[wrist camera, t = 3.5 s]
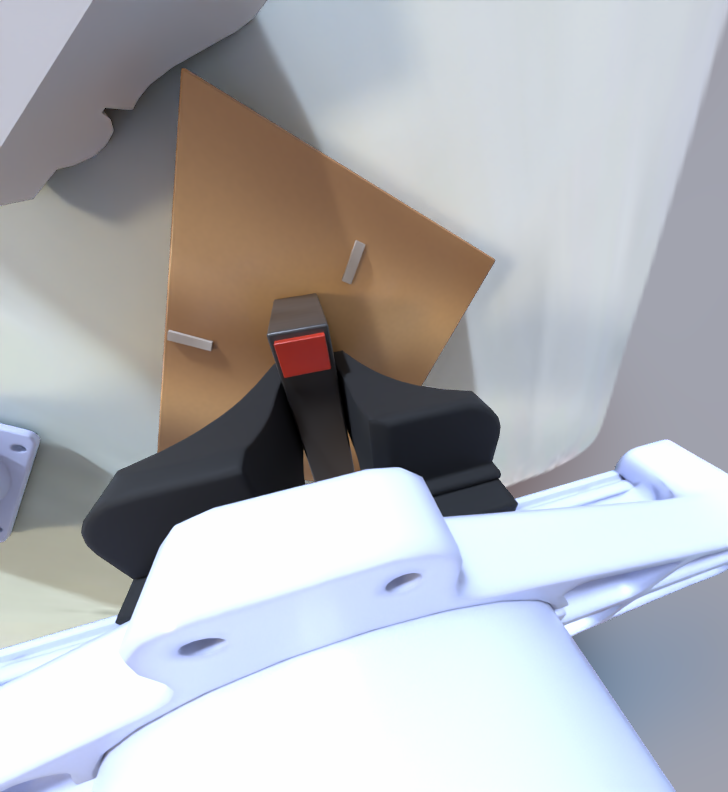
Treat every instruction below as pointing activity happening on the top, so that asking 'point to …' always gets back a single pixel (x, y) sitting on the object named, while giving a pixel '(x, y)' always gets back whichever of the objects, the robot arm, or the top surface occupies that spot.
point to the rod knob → (311, 383)
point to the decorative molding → (88, 73)
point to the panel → (291, 262)
